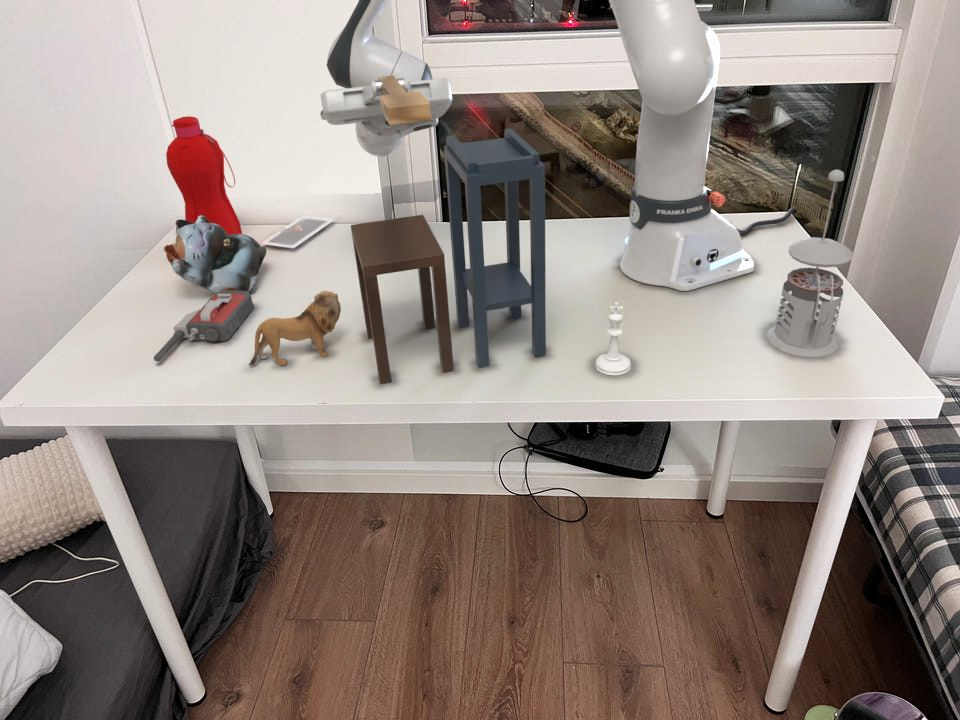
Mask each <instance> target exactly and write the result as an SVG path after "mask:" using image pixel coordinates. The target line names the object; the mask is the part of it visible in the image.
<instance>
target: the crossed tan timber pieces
mask: <svg viewBox="0 0 960 720" xmlns="http://www.w3.org/2000/svg"><path fill="white" fill-rule="evenodd" d="M378 81H381V82H382V88H383V95H382V96H380V102H381V110H382V113H383V115H384V116H385V118H386V120H387V122H388V123H389V125H394V124H402V123H411V122H419V121H428V120H431V107H430V103H429V101H428V100H427V99H426V98H425V97H424V95H423V94H422V93H421V92H420V91H418V92H409V93H407V92H406V91H405V90H404V88H403V87H402V86H401V85H400V83H399V82H398V81H397V79H396V78H395V77H394V76H383V77H378Z"/></svg>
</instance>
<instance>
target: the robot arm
mask: <svg viewBox="0 0 960 720" xmlns="http://www.w3.org/2000/svg"><path fill="white" fill-rule="evenodd" d="M388 1H389V0H358V2H357V4H356V6H355V8H354V9H353V11H352V13H351V15H350V17H349V19H348V21H347V23H346V24H345V26H344V27H343V29H342V30H341V31H340V32H339V34H338V35H337V36H336V38H335V39H334V41H333V42H332V44H331V45H330V48H329V51H328V54H327V59H326V68H327V70H328V72H329V75H330V76H331V78H332V80H333V82H334V83H335V85H336V86H339V87H341V88H338V89H337V88H336V89H327V90H325V91H323V92H321V93H320V100H321V106H322V110H320V114H319V116H320V119H321V120H324V121H326V122H327V124H330V125H332V126H343V125H353V124H354V125H355V126H354V127H355V137H356V139H357V143H358V144H359V146H360V147H361V148H362V150H364V151H365V152H366V153H368V154H369V155H371V156H374V157H387V156H390V155H391V154H393V153H394V152H395V151H396V150H397V149H398V148H399V147H400V145H402V143H403V141H404V138H405V137H407V136H408V135H410V134H412V133H415V132H418V131H422V130H426V129H430V128H433V127H436V126H438V124H439V118H441V117H442V116H444V115H445V114H446V112H447V111H448V110H449V108H450V106H451V105H452V103H453V95H452V94H453V93H452V88H451V83H450V80H449V79H448V78H445V77H440V78H433V75H432V72H431V71H432V70H431V69H430V66H429V64H428V63H427V62H426V61H424V60H422V59H421V58H418V57H416V56H414V55H412V54H411V53H409V52H407V51H404V50H401V49H400V48H397V47H395V46H393V45H391V44H390V43H387V42H385V41H383V40H381V39H379V38H378V37H376V35H374V34H373V32H372V30H373V28H374V26H375V24H376V22H377V20H378V19H379V17H380V15H381V14H382V12H383V10H384V8H385V6H386V5H387V3H388ZM608 3H609V4H610V7H611V9H612V13H613V15H614V18H615V22H616V25H617V28H618V31H619V34H620V37H621V41H622V44H623V48H624V50H625V53H626V56H627V60H628V62H629V65H630V68H631V71H632V74H633V76H634V79H635V82H636V85H637V89H638V91H639V92H638V93H639V94H640V96H641V98H642V101H641V110H640V111H641V112H640V119H639V126H638V132H637V140H636V153H635V170H634V185H632V187H631V192H630V202H629V223H630V225H629V231H628V236H627V237H626V238H625V240H624V243H625V244H626V245H625V248H624V251H623V255H622V258H621V260H620V263H619V269H620V271H621V272H622V273H623V274H624V275H625V276H626V277H628V278H630V279H632V280H634V281H636V282H639V283H641V284H647V285H652V286H660V287H666V288H671V289H674V290H677V291H680V292H681V291H682V292H689V291H692V290H695V289H699V288H702V287H706V286H710V285H713V284H716V283H719V282H723V281H728V280H730V279H733V278H737V277H740V276H743V275H747V274H750V273H752V272H754V270H755V262H754V260H753V258H752V257H751V256H750V254H748V252H746V251H745V250H744V249H743V245H742V237H741V236H742V235H746V234H748V233H749V232H751V231H752V230H753V229H754V228H756V227H761V226H768V225H769V226H770V225H776V224H780V223H783V222H785V221H787V220H788V219H789V218H790V217H791V216H792V214H798V210H797V209H796V208H795V207H790V208H789V209H788V210H787V211H786V213H785V215H783V216H782V217H779V218H775V219H765V220H759V221H754V222H753V223H751V224H749V225H748V226H747V227H746V228H745V229H739V228H738V227H737V226H735V225H734V224H733V222H732V221H730V220H727V218H725V217H723V216H722V214H720V213H719V212H717V211H716V210H714V209H713V208H712V205H711V204H713V206H715V207H717V208H720V207H722V206H723V205H724V204H725V201H726V196H725V195H724V194H722V193H720V192H719V191H712V190H711V189H710V188H708V187H707V186H705V182H706V174H707V173H706V171H707V163H708V155H709V154H708V153H709V146H710V137H711V129H712V123H713V122H712V121H713V113H714V106H715V105H714V104H715V96H716V88H717V82H718V81H717V80H718V73H719V64H720V55H721V52H720V51H721V49H720V43H719V39H718V37H717V35H716V33H715V31H714V30H713V29H712V28H711V27H710V26H709V24H707V23H705V21H703V20H702V19H701V17H700V14H699V11H698V8H697V4H696V2H695V0H608ZM383 76H394V77H395V78H396V79H397V81H398V82H399V83H400V85H401V86H402V87H403V88H404V90H405V91H406V92H407V93H409V92H418V91H420V92H421V93H422V94H423V95H424V97H425V98H426V99H427V100H428V101H429V103H430V107H431V120H428V121H419V122H411V123H402V124H394V125H389V123H388V122H387V120H386V118H385V116H384V115H383V113H382V110H381V102H380V96H382V95H383V88H382V82H381V81H378V77H383Z"/></svg>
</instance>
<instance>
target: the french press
mask: <svg viewBox="0 0 960 720" xmlns="http://www.w3.org/2000/svg"><path fill="white" fill-rule="evenodd" d="M827 179H828V180H829V181H832V182H833V186H832V191H831V196H830V200H829V205H828V210H827V214H826V220H825V225H824V230H823V234H822V237H809V238H804V239H800V240H798V241H796V242H793V243H792V244H790V245H789V246H788V251H787V252H788V255H790V257H791V258H792V259H793V260H794V261H797V262H799V263H800V264H804V265H807V266H810V267H800V268H799V267H798V268H796V269H793V270H791V271H790V272H789V273H788V274H787V276H786V277H787V279H786V281H784V282H783V286H782V290H781V296H782V298H780V299H779V304H780V305H781V306H778V314H777V317H776V320H777V321H776V322H775V324H774V325H773V326H772V327H771V328H770V329H768V330H767V333H766V339H767V340H768V342H769V344H770V345H772V346H773V347H774V348H776V349H778V350H779V351H780V352H784V353H786V354H789V355H792V356H795V357H803V358H823V357H825V356H829V355H831V354H834V353H835V352H836V351H837V350H838V349H839V348H840V346H839V345H840V343H839V342H840V341H839V339H838V337H836V336H835V331H836V325H837V323H838V317H839V315H840V309H841V305H842V301H843V298H844V297H843V296H844V289H843V288H842V287H843V285H844V281H843V279H842V277H841V276H839V275H838V274H837V273H834V272H833V271H831V270H830V271H829V270H827V269H824V268H837V267H840V266H843V265H846V264H848V263H849V262H850V261H852V259H854V252H853V251H852V250H851V249H850V248H848V246H846V244H843V243H840V242H838V241H836V240H834V239H831V238H828V237H827V238H825V237H826V233H827V228H828V225H829V224H828V223H829V219H830V214H831V209H832V204H833V200H834V195H835V191H836V185H837V182H842V181H845V172H843V171H842V170H840V169H833V170H831V171H830V172H829V173H828V177H827ZM821 294H824V295H827V296H829V297H830V299H829V298H825V297H823V296H821ZM834 298H835V299H834ZM786 302H787V303H786ZM784 310H785V311H784ZM818 310H819V311H818ZM782 317H783V318H782ZM816 317H817V319H816Z"/></svg>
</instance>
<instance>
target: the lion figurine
mask: <svg viewBox="0 0 960 720" xmlns="http://www.w3.org/2000/svg"><path fill="white" fill-rule="evenodd" d="M313 299H314V300H313V302H311V303H310V304H309V305H308V306H307V307H306V308H305V309H304V310H303V311H302V312H301V313H300V314H299V315H298V316H293V317H287V318H281V317H269V318H267V319H265V320H264V321H262V322H261V323H259V325H258V327H257V328H256V330H255V335H254V354H253V357H252V359H251V360H250V362H249V364H248V366H253V365H255V364H256V363H257V360H258V358H259V359H261V360H264V359H265V360H266V359H268V357H269V354H268V353H267V352H264V350H265V348H266V347H267V346H269V348H270V351H271V353H270V356H271V357H272V358H273V360H275V362H276V363H277V364H278V365H279V366H281V367H283V366H287V365H288V360H287V359H286V358H281V357H280V354H279V351H280V346H281V339H284V340H287V341H289V342H302V341H304V340H308V339H310V342H311V347H312V348H313V349H314V350H316V351H317V353H318V354H319V356H321V357H324V358H325V357H328V356H329V354H330V353H329V351H328V350H325V348H324V347H325V338H324V336H326V335H327V334H329V333H332V332H333V331H334V330H335V327H336V324H337V322H338V321H339V319H340V317H341V311H342V307H341V303H340V301H339V295H338V293H336V292H333V291H330V290H323V291H320V293H319V292H318V293H317V294H316V295H314V297H313ZM261 335H262V337H261Z"/></svg>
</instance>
